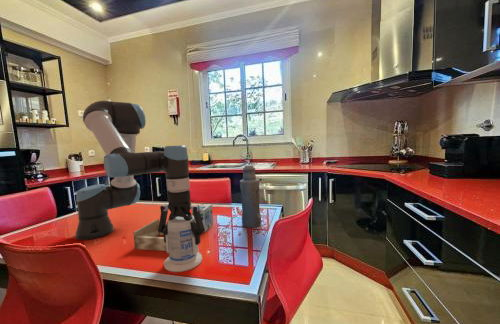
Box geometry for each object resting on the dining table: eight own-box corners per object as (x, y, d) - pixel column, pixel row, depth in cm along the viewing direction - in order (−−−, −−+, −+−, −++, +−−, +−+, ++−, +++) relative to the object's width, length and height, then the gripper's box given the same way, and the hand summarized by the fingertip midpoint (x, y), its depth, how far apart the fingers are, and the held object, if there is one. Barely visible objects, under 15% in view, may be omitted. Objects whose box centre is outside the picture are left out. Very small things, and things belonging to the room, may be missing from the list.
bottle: (258, 228, 106) (255, 166, 104) (239, 227, 110) (236, 166, 107) (263, 221, 115) (261, 164, 113) (245, 220, 118) (243, 164, 116)
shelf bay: (134, 248, 90) (133, 232, 90) (157, 233, 105) (156, 219, 105) (175, 251, 87) (174, 234, 86) (193, 235, 102) (192, 220, 101)
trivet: (156, 270, 74) (155, 268, 74) (176, 251, 87) (176, 249, 87) (191, 273, 71) (191, 271, 71) (207, 253, 84) (207, 251, 84)
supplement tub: (185, 268, 73) (182, 224, 72) (163, 263, 77) (160, 221, 75) (202, 254, 82) (200, 215, 81) (182, 250, 86) (179, 213, 84)
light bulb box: (205, 232, 104) (204, 210, 104) (192, 231, 106) (191, 209, 105) (213, 224, 115) (212, 203, 114) (201, 223, 116) (200, 203, 115)
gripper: (143, 192, 75) (148, 255, 77) (203, 192, 71) (207, 259, 73) (156, 187, 83) (161, 245, 85) (212, 187, 78) (215, 249, 80)
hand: (182, 252), depth 79 cm, fingers closed on supplement tub, 9 cm apart
